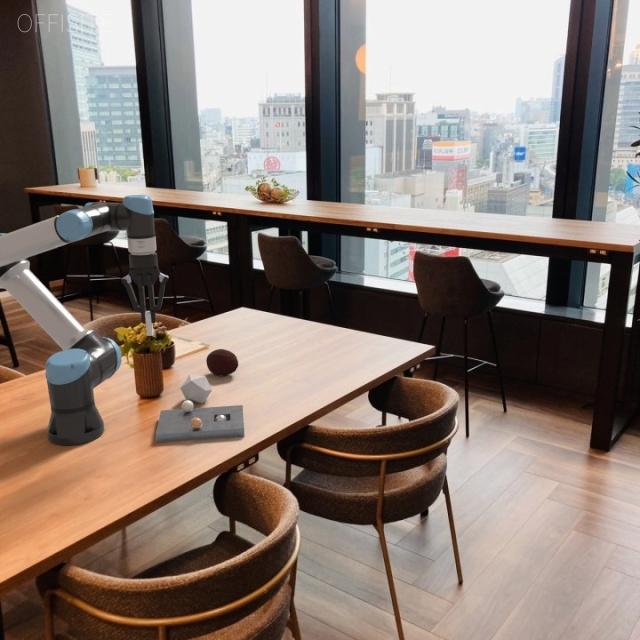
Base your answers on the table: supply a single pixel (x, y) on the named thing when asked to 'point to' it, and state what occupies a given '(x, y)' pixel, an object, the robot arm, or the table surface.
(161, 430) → the grey board with recess
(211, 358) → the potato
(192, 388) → the die
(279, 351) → the table surface
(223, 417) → the steel ball
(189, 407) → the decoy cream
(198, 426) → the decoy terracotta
